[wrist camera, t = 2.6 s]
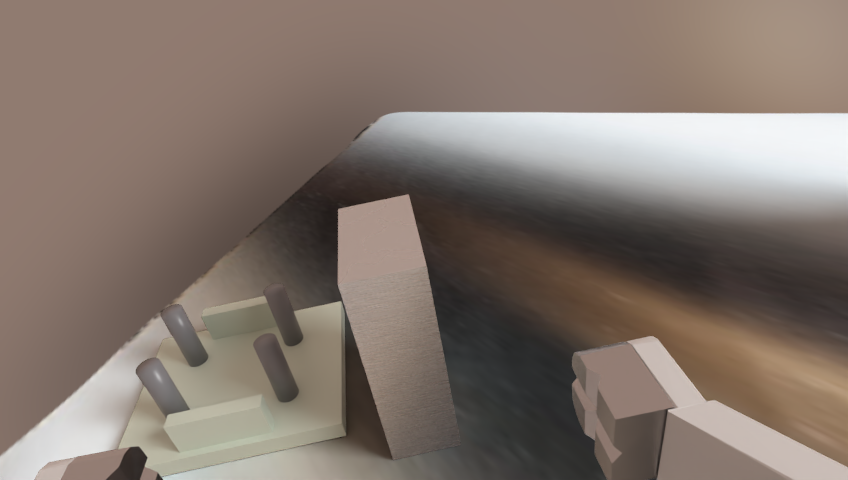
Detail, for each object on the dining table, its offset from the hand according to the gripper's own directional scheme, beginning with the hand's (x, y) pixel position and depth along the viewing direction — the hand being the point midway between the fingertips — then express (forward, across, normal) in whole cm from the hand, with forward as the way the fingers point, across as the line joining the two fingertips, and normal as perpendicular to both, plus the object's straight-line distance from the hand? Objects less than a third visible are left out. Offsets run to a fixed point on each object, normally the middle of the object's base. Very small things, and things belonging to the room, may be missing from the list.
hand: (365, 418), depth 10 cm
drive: (+13, 0, +14) cm, 19 cm away
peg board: (+17, +10, +14) cm, 24 cm away
